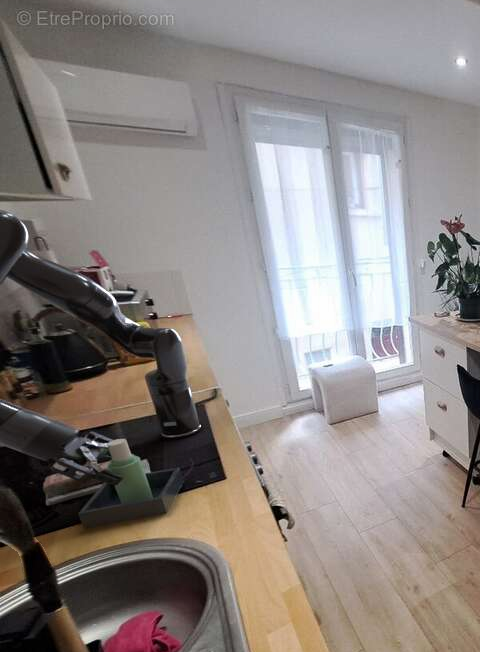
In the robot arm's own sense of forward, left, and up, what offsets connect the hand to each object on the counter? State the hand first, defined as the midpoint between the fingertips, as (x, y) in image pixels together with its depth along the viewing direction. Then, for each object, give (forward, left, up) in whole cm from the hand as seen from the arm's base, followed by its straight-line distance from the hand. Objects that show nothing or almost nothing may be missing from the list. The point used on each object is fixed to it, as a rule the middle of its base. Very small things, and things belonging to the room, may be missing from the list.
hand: (128, 471), depth 91 cm
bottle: (0, 0, -8) cm, 8 cm away
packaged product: (-14, -11, -9) cm, 20 cm away
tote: (0, 0, -9) cm, 9 cm away
